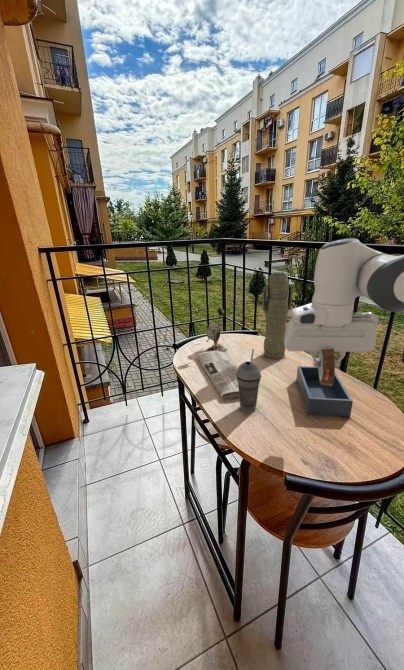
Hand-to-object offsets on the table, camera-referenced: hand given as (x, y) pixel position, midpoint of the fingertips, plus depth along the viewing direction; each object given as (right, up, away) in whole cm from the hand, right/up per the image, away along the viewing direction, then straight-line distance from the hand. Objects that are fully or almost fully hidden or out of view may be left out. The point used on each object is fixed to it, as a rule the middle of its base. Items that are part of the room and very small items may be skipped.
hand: (325, 366), depth 70 cm
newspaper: (-23, -7, +37) cm, 44 cm away
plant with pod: (-25, +1, +60) cm, 65 cm away
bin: (+7, -12, +20) cm, 25 cm away
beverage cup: (-17, -15, +16) cm, 27 cm away
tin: (0, -3, +1) cm, 3 cm away
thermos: (0, -1, +51) cm, 51 cm away
